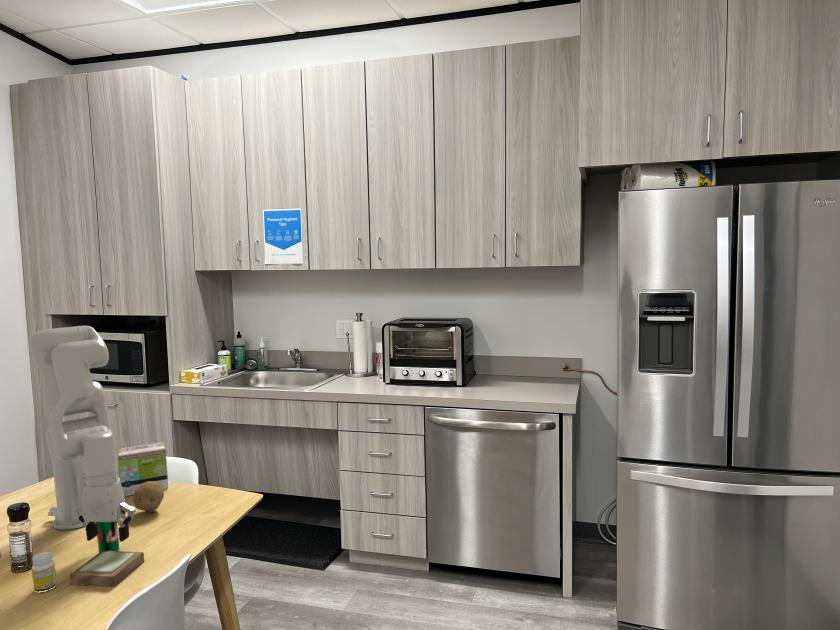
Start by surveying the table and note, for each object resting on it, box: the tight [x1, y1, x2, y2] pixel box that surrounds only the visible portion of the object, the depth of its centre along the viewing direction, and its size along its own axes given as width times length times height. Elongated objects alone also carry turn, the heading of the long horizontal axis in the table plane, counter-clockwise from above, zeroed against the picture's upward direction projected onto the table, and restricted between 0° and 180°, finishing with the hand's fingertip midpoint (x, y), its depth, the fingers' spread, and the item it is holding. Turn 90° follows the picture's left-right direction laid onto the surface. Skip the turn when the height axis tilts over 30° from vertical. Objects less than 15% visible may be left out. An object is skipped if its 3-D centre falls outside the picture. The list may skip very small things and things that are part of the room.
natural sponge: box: [132, 481, 165, 514], centre depth 188 cm, size 9×9×10 cm
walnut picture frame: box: [69, 550, 145, 588], centre depth 153 cm, size 12×12×3 cm
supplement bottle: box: [31, 551, 58, 592], centre depth 146 cm, size 5×5×8 cm
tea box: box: [117, 441, 169, 498], centre depth 209 cm, size 15×10×15 cm, turn 117°
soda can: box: [95, 521, 120, 553], centre depth 163 cm, size 5×5×12 cm
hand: (108, 538), depth 163 cm, fingers open, 9 cm apart
